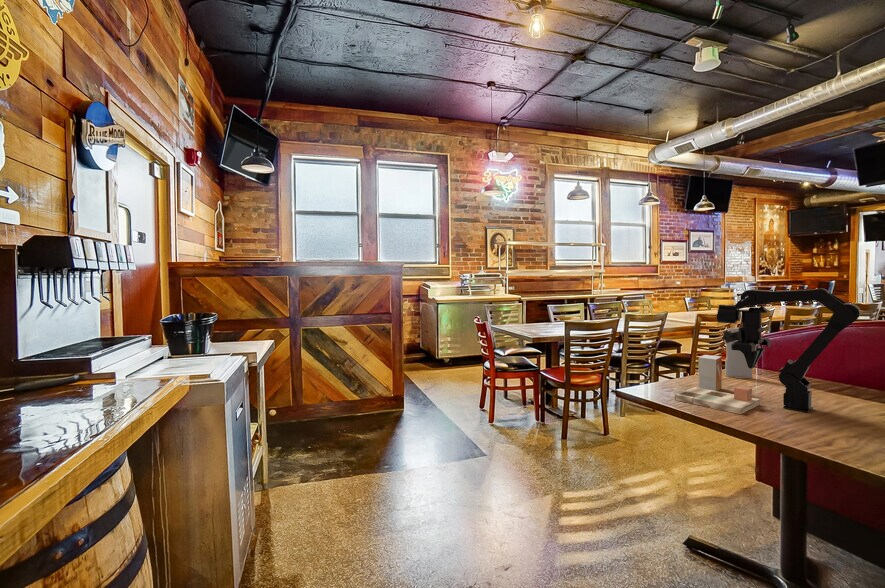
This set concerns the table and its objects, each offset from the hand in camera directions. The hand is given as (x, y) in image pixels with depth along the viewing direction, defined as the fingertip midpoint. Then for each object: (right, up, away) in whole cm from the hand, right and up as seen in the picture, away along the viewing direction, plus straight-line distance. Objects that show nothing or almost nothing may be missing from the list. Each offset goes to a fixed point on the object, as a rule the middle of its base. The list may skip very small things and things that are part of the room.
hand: (751, 368), depth 153 cm
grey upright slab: (+19, -10, +34) cm, 40 cm away
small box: (-4, -12, +17) cm, 21 cm away
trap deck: (-12, -12, 0) cm, 18 cm away
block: (-6, -10, -4) cm, 12 cm away
